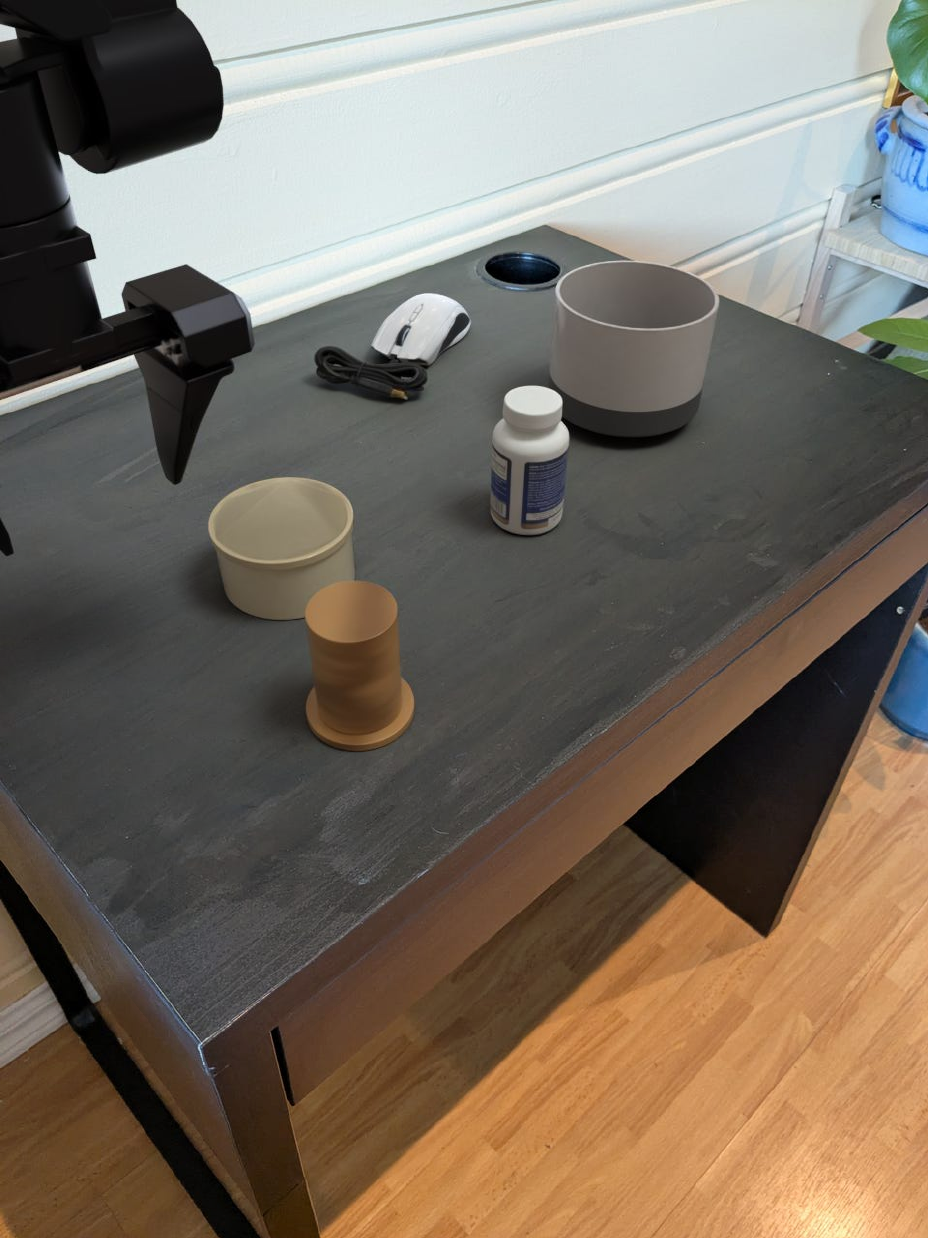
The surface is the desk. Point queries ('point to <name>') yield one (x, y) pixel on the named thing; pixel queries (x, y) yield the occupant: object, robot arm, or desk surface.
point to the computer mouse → (400, 347)
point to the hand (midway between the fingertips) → (93, 514)
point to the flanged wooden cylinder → (356, 667)
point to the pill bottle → (529, 461)
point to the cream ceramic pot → (282, 544)
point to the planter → (631, 346)
